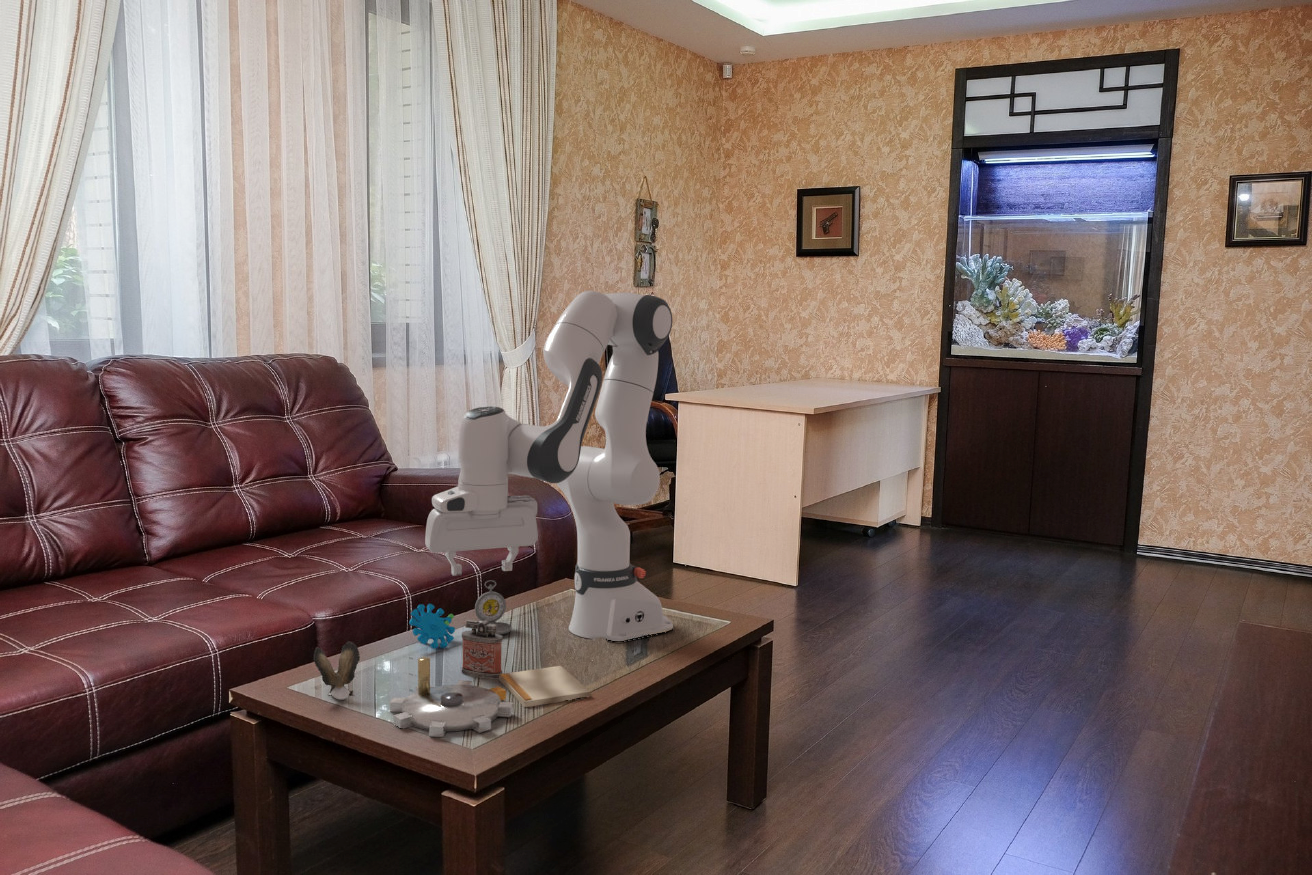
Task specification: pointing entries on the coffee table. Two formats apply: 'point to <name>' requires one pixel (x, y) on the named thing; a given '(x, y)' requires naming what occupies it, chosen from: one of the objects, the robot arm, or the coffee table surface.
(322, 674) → the eagle figurine
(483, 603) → the pocket watch
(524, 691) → the pad
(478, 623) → the lighter
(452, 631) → the gear
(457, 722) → the sprocket
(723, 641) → the coffee table surface
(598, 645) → the coffee table surface
